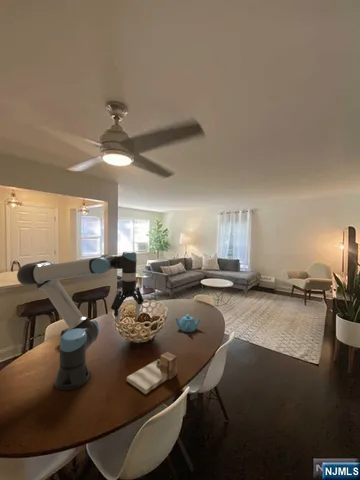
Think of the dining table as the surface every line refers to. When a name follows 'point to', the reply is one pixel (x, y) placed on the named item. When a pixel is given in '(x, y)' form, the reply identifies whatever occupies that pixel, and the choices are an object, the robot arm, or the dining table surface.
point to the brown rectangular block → (168, 364)
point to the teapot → (187, 323)
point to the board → (147, 377)
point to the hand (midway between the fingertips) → (127, 318)
